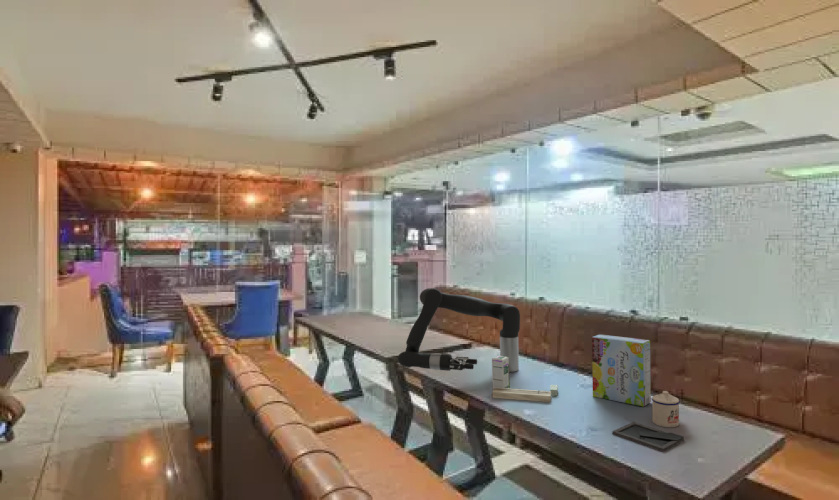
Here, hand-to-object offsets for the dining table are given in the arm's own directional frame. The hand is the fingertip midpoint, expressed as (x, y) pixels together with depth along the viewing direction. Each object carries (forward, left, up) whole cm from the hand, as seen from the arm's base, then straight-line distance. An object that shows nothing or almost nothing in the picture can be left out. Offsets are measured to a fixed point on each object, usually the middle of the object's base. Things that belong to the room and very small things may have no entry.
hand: (475, 364), depth 228 cm
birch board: (+9, +22, -11) cm, 26 cm away
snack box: (+2, +62, -11) cm, 62 cm away
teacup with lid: (+24, +76, -11) cm, 80 cm away
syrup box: (0, +12, -11) cm, 16 cm away
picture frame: (+40, +67, -11) cm, 78 cm away
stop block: (0, +35, -11) cm, 36 cm away
